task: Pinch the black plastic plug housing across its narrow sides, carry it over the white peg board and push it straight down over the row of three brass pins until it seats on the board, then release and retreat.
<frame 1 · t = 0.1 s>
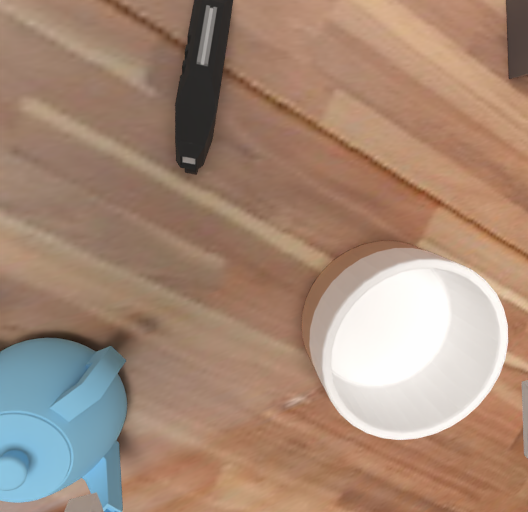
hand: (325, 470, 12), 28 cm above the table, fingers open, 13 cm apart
gun: (204, 84, 35), on the table
teapot: (57, 395, 40), on the table
bowl: (378, 317, 43), on the table
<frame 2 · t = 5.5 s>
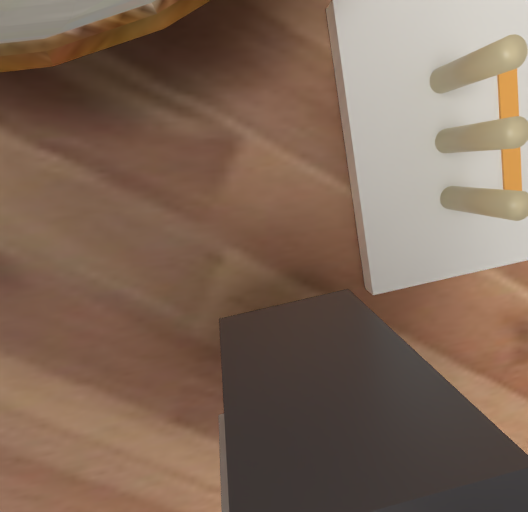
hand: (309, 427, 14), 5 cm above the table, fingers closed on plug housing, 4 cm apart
white peg board: (433, 142, 18), on the table
plug housing: (306, 418, 14), point 5 cm above the table, touching gripper
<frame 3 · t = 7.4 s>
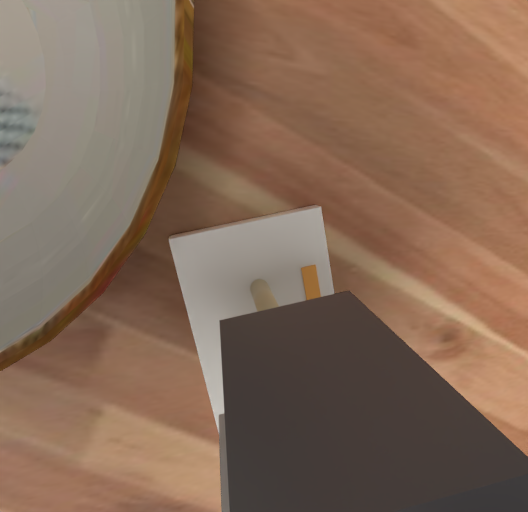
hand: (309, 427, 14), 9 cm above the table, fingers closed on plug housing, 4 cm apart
white peg board: (265, 321, 23), on the table
plug housing: (307, 420, 14), point 9 cm above the table, touching gripper
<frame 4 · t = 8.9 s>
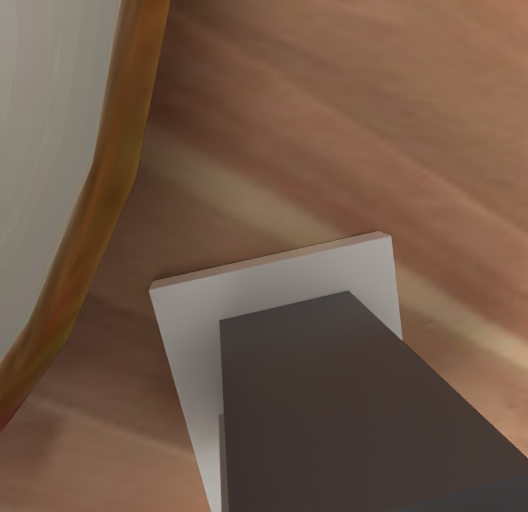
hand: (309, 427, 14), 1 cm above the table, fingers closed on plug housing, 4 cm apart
white peg board: (297, 404, 15), on the table
plug housing: (306, 420, 14), point 1 cm above the table, touching gripper, white peg board
when the fingers open (1 cm above the table, at t = 9.5 s): plug housing stays where it is, resting on white peg board.
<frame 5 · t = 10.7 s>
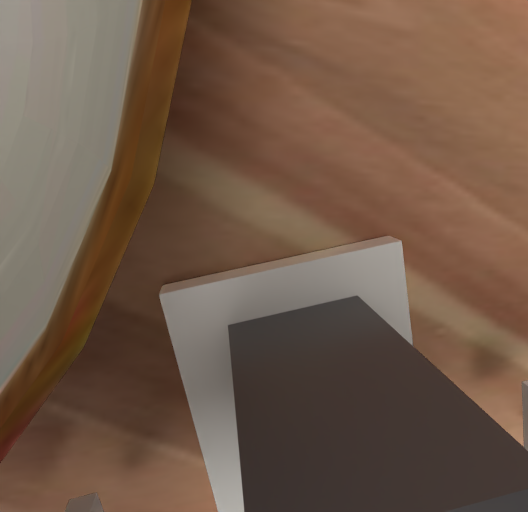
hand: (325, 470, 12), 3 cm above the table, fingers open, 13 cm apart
white peg board: (306, 409, 15), on the table
plug housing: (314, 425, 14), point 1 cm above the table, touching white peg board
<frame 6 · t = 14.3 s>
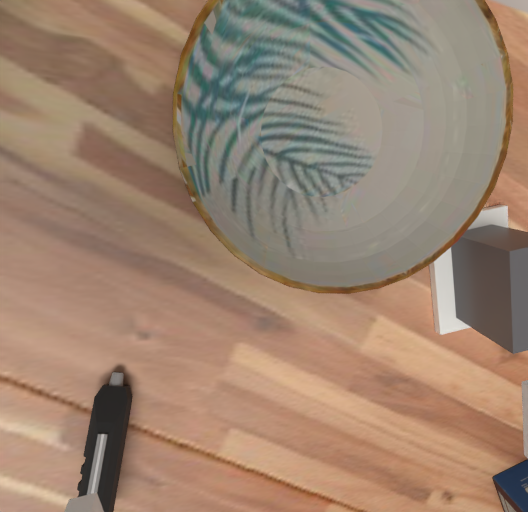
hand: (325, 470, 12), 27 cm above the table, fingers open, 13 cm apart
gun: (114, 433, 40), on the table
white peg board: (466, 269, 41), on the table
bowl 2: (321, 134, 36), on the table
plug housing: (473, 272, 40), point 1 cm above the table, touching white peg board
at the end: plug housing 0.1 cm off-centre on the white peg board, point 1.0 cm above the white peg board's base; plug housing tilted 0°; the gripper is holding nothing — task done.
